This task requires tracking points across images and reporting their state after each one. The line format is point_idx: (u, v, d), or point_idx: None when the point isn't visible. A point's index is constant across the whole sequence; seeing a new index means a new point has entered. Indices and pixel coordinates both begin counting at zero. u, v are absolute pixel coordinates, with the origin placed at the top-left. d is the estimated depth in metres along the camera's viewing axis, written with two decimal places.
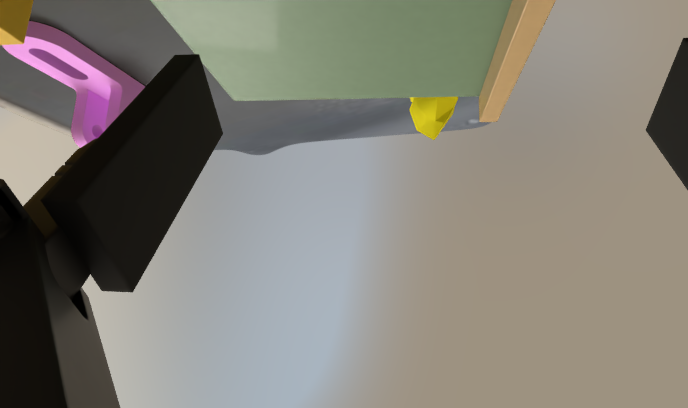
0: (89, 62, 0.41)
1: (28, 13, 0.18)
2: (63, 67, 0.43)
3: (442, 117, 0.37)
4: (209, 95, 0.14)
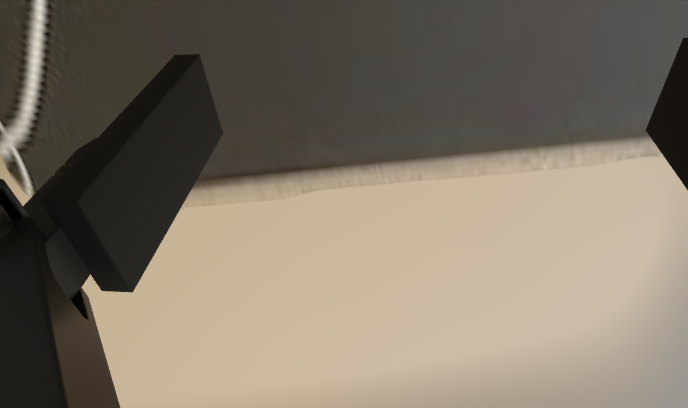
0: None
1: None
2: None
3: None
4: (209, 95, 0.14)
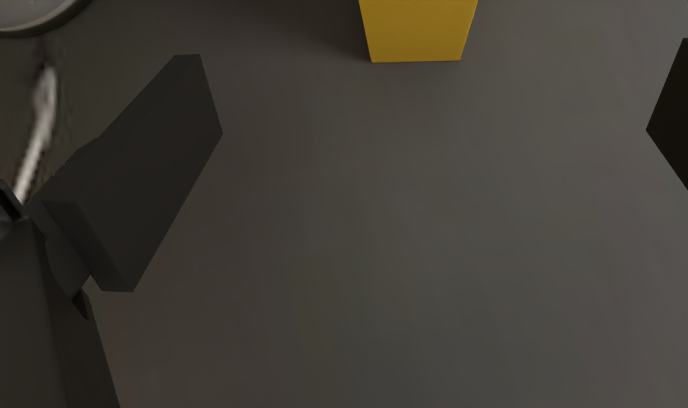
0: None
1: None
2: None
3: None
4: (209, 95, 0.14)
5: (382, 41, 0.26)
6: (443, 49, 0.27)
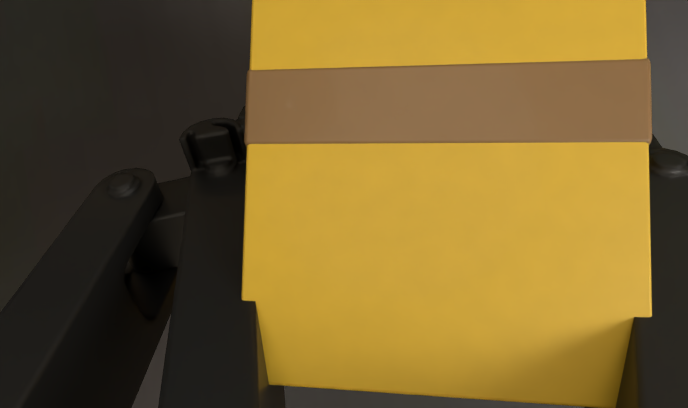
0: None
1: None
2: None
3: None
4: None
5: None
6: None
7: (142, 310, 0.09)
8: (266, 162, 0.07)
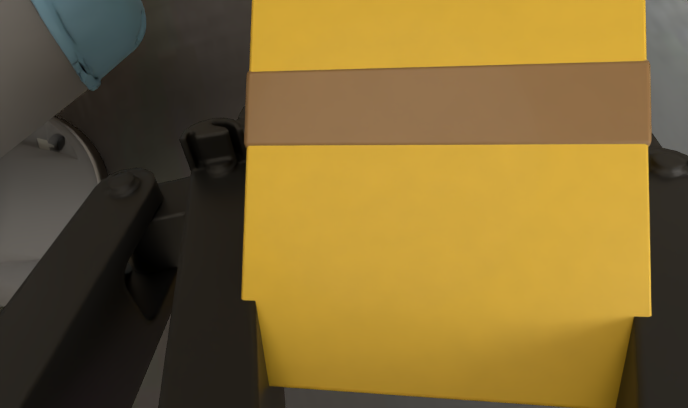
0: None
1: None
2: None
3: None
4: None
5: None
6: None
7: (142, 310, 0.09)
8: (266, 164, 0.07)
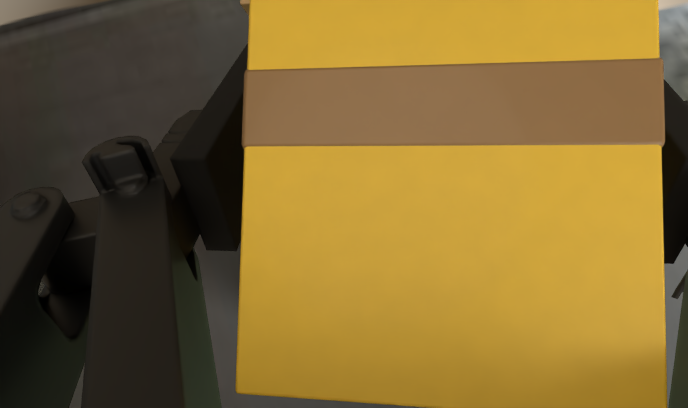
0: None
1: None
2: None
3: None
4: None
5: None
6: None
7: (64, 331, 0.09)
8: (264, 165, 0.06)
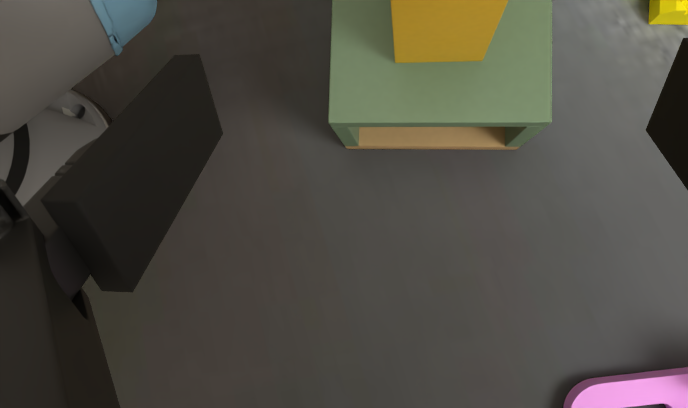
0: (634, 378, 0.34)
1: None
2: None
3: None
4: (209, 95, 0.14)
5: (408, 42, 0.26)
6: (467, 50, 0.27)
7: None
8: None
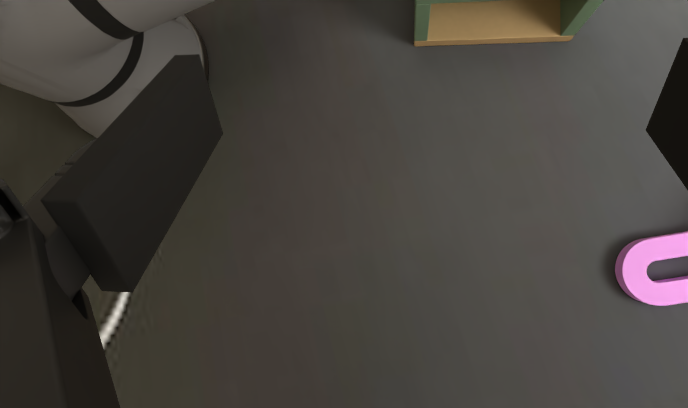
0: (679, 233, 0.38)
1: None
2: None
3: None
4: (209, 95, 0.14)
5: None
6: None
7: None
8: None
